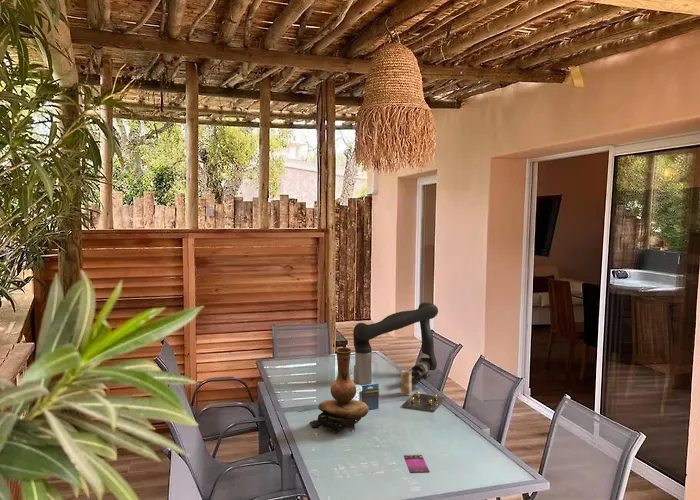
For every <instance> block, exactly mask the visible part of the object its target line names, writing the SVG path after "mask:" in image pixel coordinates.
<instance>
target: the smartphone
mask: <svg viewBox="0 0 700 500" xmlns="http://www.w3.org/2000/svg"><path fill="white" fill-rule="evenodd" d="M403 457H404V460H405V463H406V466H407V468H408V469H407V470H408V471H409V473H410V474H416V473H417V474H420V473H421V474H423V473H425V474H426V473H430V472H431V471H430V469H429V468H428V466H427V462H426V460H425V459H424V456H423V455H422V454H404V455H403Z"/></svg>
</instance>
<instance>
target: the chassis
mask: <svg viewBox="0 0 700 500" xmlns="http://www.w3.org/2000/svg"><path fill="white" fill-rule="evenodd" d="M444 399H445V400H446V397H445V396H438V394H437V393H434V394H433V395H429V394H423V393H422V394H421V392H420V391H417V392H416V393H414V394H412V396H411V395H410V397H409V398H408V399H407V400H406V401H404V402H403V403H402V405H401V408H403V409H411V410H417V411H426V412H433V413H434V412H436V411H437V409H438V408H439V407H440V406H441V405H442V404H443V403H444V401H445V400H444ZM443 400H444V401H443ZM442 402H443V403H442ZM441 403H442V404H441Z"/></svg>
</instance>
